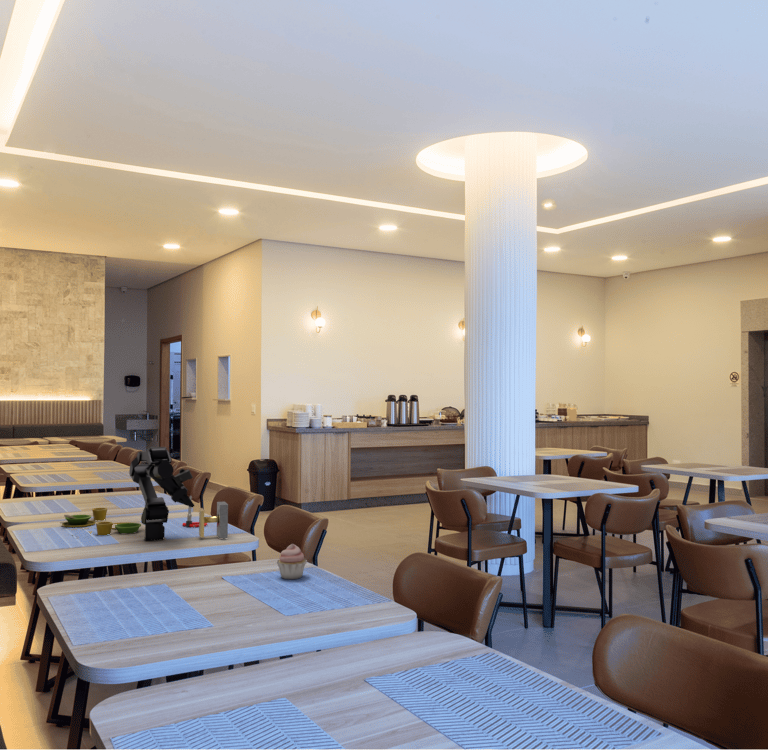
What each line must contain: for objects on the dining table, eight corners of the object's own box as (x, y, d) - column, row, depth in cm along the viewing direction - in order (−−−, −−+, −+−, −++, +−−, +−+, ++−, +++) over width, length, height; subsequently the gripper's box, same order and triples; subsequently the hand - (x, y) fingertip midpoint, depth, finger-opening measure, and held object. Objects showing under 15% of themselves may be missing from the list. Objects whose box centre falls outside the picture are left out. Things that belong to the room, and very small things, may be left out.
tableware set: (57, 523, 301) (58, 508, 301) (126, 518, 315) (126, 504, 315) (71, 541, 266) (71, 524, 266) (147, 534, 280) (147, 518, 280)
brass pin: (200, 537, 266) (201, 510, 267) (198, 534, 272) (199, 508, 272) (227, 535, 270) (228, 509, 270) (225, 532, 275) (225, 507, 276)
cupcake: (278, 582, 208) (278, 547, 208) (274, 574, 217) (274, 541, 217) (309, 580, 210) (310, 546, 210) (304, 572, 219) (305, 539, 219)
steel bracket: (219, 539, 268) (220, 504, 268) (216, 535, 275) (217, 501, 276) (227, 539, 269) (228, 504, 269) (224, 535, 276) (224, 501, 277)
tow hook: (197, 524, 302) (180, 526, 294) (199, 493, 303) (182, 495, 295) (211, 526, 297) (194, 528, 290) (213, 495, 298) (196, 496, 290)
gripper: (181, 464, 258) (212, 494, 262) (177, 460, 276) (206, 487, 279) (158, 487, 255) (189, 516, 259) (156, 481, 273) (185, 508, 276)
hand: (193, 506), depth 269 cm, fingers closed
